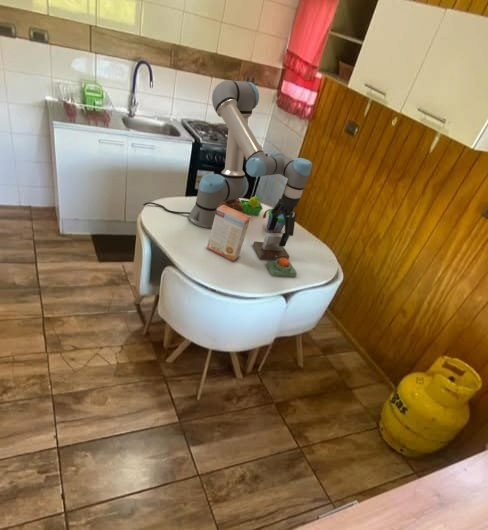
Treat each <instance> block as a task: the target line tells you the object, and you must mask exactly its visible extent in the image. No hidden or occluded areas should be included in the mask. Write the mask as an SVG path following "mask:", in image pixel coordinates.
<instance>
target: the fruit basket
mask: <svg viewBox="0 0 488 530" xmlns="http://www.w3.org/2000/svg"><path fill="white" fill-rule="evenodd" d="M259 199H260V198H259V196H257V195H256V196H253V197H250V198H249V200H246V199H240V201H241V203H242V206H243V209H242V213H243V214H246V215H250V216H251V215H252V216H259V214H260V213H261V211H262V210H264V209H263V206H262V204H261V202H260V200H259Z"/></svg>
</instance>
